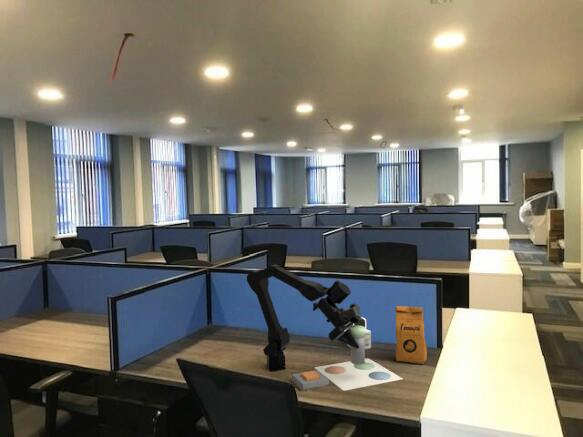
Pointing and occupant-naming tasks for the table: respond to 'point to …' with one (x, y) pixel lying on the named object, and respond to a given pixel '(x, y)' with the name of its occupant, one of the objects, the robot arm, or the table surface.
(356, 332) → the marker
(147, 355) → the table surface
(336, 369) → the white square board
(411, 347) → the coffee package
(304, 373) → the button
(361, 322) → the container
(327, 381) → the button housing
